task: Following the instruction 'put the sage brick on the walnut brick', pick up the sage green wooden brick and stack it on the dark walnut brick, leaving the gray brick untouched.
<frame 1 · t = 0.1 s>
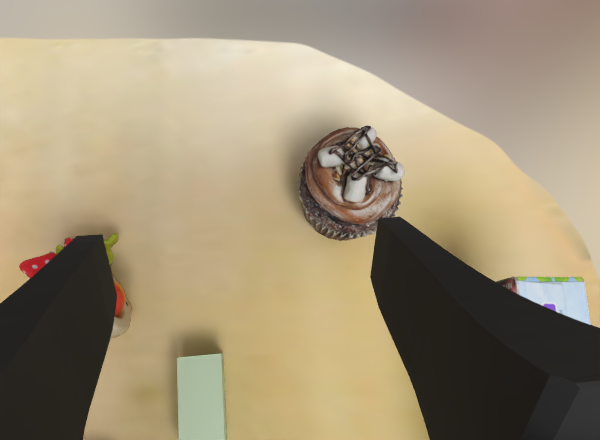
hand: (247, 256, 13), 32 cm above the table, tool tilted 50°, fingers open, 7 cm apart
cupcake: (340, 202, 48), on the table
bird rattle: (110, 289, 43), on the table
sage brick: (204, 396, 41), on the table
snack box: (462, 416, 43), on the table
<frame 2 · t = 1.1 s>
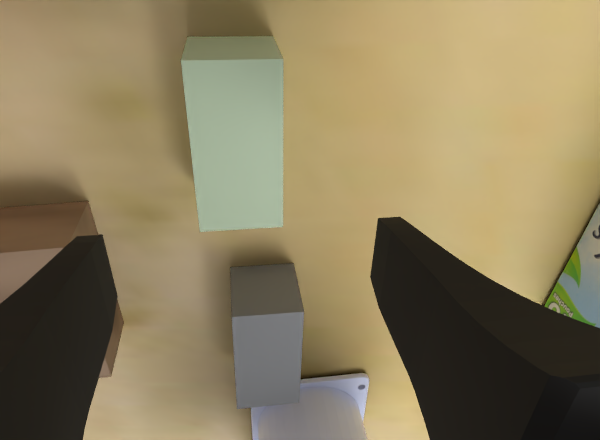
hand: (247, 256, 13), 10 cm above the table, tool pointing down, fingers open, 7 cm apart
walnut brick: (48, 269, 25), on the table
gray brick: (262, 310, 28), on the table
sage brick: (235, 116, 22), on the table
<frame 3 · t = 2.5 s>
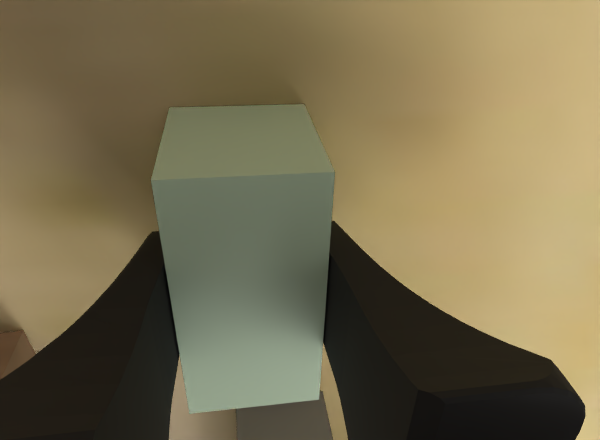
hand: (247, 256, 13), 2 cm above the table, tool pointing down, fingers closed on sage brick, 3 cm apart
sage brick: (243, 218, 14), on the table, touching gripper
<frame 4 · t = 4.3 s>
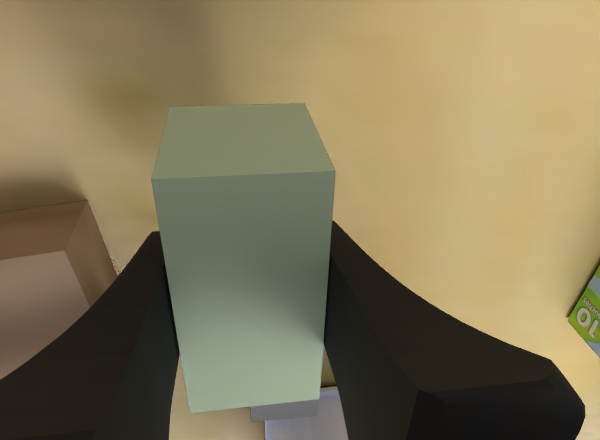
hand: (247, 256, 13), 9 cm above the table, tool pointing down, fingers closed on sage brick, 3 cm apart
walnut brick: (53, 276, 23), on the table
gray brick: (278, 317, 27), on the table
sage brick: (243, 218, 14), point 7 cm above the table, touching gripper
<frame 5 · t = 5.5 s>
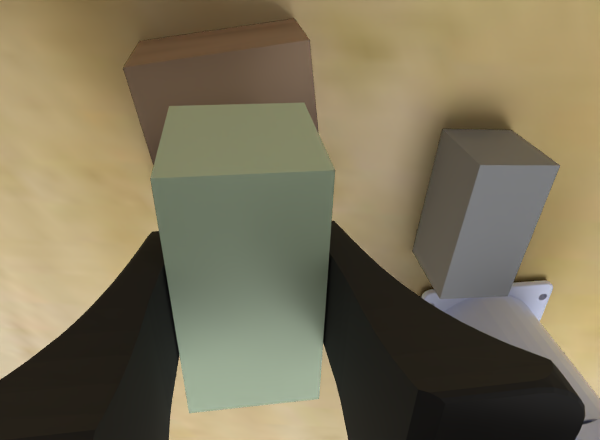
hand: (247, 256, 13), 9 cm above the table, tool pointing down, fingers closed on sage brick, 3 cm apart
walnut brick: (236, 124, 21), on the table
gray brick: (457, 193, 24), on the table
sage brick: (243, 217, 14), point 7 cm above the table, touching gripper
when the fingers open (7 cm above the table, at t = 6.2 s): sage brick drops 2 cm, resting on walnut brick.
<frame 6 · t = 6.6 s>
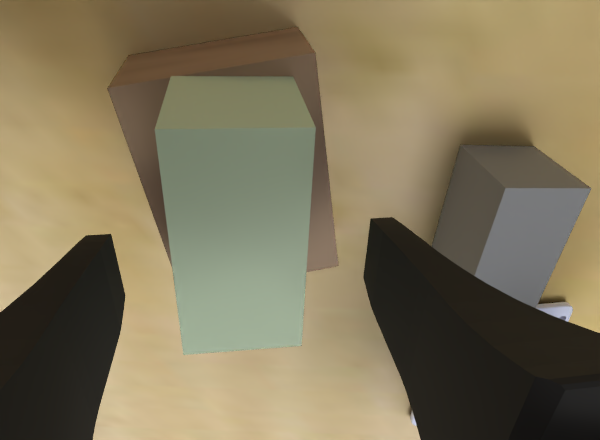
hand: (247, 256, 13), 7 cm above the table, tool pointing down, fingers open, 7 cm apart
walnut brick: (236, 142, 19), on the table, touching sage brick
gray brick: (473, 212, 23), on the table
sage brick: (236, 183, 16), point 4 cm above the table, touching walnut brick
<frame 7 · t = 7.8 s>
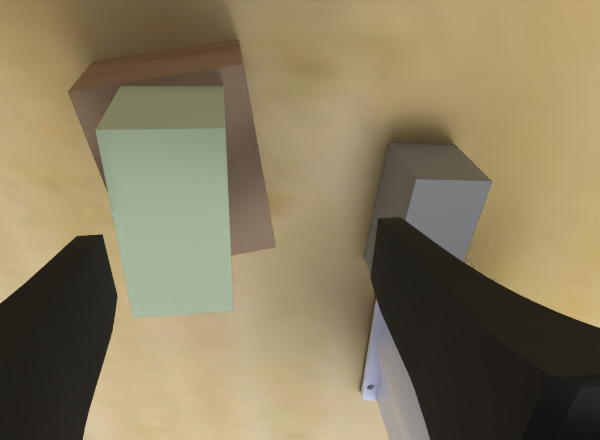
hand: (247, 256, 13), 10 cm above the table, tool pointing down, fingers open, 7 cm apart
walnut brick: (190, 138, 22), on the table, touching sage brick
gray brick: (405, 203, 25), on the table
sage brick: (182, 175, 18), point 4 cm above the table, touching walnut brick
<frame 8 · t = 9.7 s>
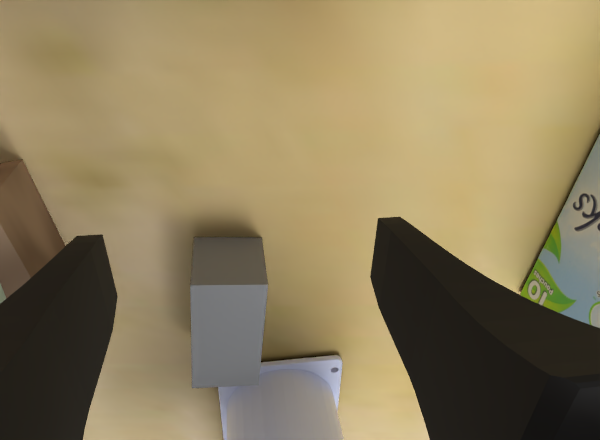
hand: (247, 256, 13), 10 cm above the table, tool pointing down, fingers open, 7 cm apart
gray brick: (226, 286, 27), on the table
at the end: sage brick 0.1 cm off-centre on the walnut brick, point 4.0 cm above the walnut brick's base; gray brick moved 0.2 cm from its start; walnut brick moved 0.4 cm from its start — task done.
